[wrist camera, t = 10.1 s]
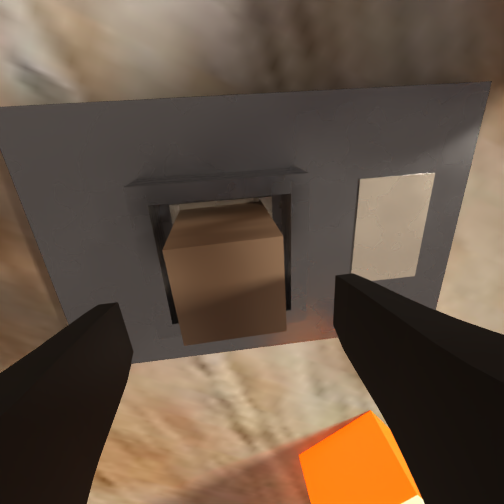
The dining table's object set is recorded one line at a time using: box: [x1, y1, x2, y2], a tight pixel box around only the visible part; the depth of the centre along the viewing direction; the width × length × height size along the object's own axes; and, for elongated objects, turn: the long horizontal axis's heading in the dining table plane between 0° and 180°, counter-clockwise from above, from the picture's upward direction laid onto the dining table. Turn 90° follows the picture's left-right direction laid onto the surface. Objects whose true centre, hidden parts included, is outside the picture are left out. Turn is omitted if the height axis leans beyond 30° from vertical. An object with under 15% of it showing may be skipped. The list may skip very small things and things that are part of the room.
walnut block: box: [162, 201, 287, 346], centre depth 13 cm, size 4×4×5 cm
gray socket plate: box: [0, 81, 492, 364], centre depth 15 cm, size 22×14×3 cm, turn 93°
